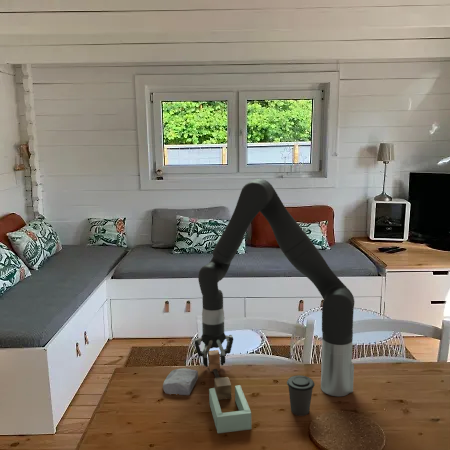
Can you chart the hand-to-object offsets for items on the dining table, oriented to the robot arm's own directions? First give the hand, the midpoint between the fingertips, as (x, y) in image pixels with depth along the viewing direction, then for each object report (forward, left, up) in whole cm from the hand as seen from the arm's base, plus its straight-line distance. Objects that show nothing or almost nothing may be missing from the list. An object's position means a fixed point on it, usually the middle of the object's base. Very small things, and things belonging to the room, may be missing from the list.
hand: (214, 365), depth 166 cm
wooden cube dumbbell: (0, +9, -1) cm, 9 cm away
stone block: (+13, +8, -2) cm, 15 cm away
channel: (0, +28, -1) cm, 28 cm away
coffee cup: (-21, +30, -2) cm, 37 cm away
